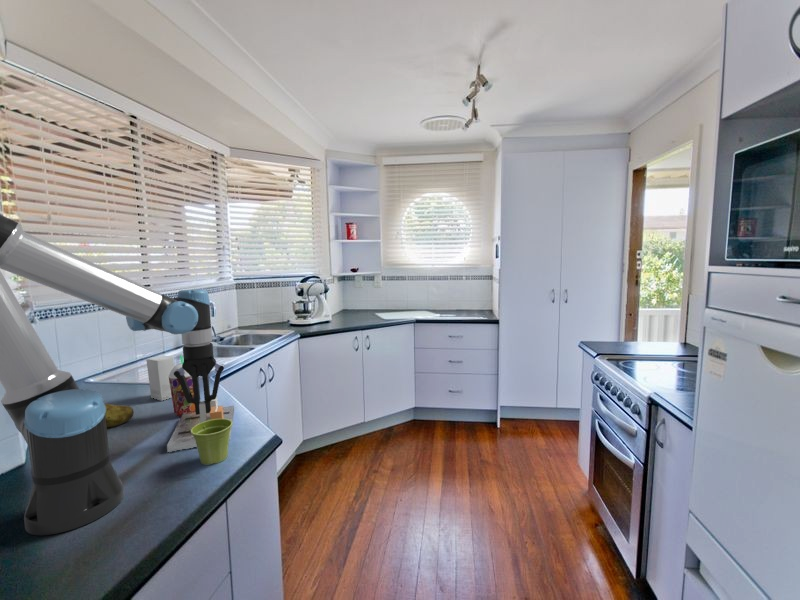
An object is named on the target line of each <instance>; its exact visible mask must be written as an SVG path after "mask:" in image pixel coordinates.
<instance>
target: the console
mask: <svg viewBox="0 0 800 600" xmlns="http://www.w3.org/2000/svg"><path fill="white" fill-rule="evenodd" d="M223 414H224V419H229V420H231V421H232V424H233V423H234V415H235V406H234V405H231V406H223ZM207 419H208V420H210V417H207ZM199 423H201V422H200V414H199V415H196V413H195V412H188V413H183V415H182V417H180V419H179V421H178V423H177V425H176V426H175V429H174V431H173V432H172V435H171V436H170V439H169V441H168V443H167V444H166V450H167V453H168V452H169V453H173V452H172V451H175V452H177V451H176V450H180V451H183V450H182V449H186V450H189V449H188V448H191V449H194V448H193V447H197V444H196V440H195V438H194V436H193V434H191V429H192V428H193V427H194V426H195V425H197V424H199ZM232 429H233V425H232V426H231V429H230V432H229V441H231V437H230V436H232Z"/></svg>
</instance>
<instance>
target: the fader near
mask: <svg viewBox="0 0 800 600" xmlns="http://www.w3.org/2000/svg"><path fill="white" fill-rule="evenodd" d="M223 407H224V405H218V406H217V407H212V408H211V411H210V420H213V419H224V414H223Z"/></svg>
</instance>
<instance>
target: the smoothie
mask: <svg viewBox="0 0 800 600" xmlns="http://www.w3.org/2000/svg"><path fill="white" fill-rule="evenodd" d="M183 362H184V358H183V354H181V355H180V363H177V364H176V365H175V367H174V368H173V369H172V370H171V372H170V375H169V376H168V377H169V383H170V389H171V395H172V398H171V400H172V401H171V402H172V406H173V407H172V408H173V413H175V415H176V417H179V418H181V417H182V415H183V413H188V412H195V404H194V403H187V400H186V398H185V395H184V393H183V390H182V388H181V385H180V382H179V380H178V379H177V378H176V377H175V375H174V372H175V371H176V370H177V369H180V368H181V367H182V364H183ZM184 372H185V374H184V376H185V378H186V381H187V383H188V386H189V389H190V391H191V394H192V396H193V397H194V392H193V381H192V376H190V375H189V374H188V373H187V372H186V371H185V370H184Z"/></svg>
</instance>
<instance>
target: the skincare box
mask: <svg viewBox="0 0 800 600" xmlns="http://www.w3.org/2000/svg"><path fill="white" fill-rule="evenodd" d="M175 366H176V365H175V357H174V356H170V355H158V356H155V357H154V356H153V357H150V358H146V367H147V374H148V382H149V383H148V384H149V389H150V398H151V399H153V398H154V400H156V399H157V401H159V402H163V400H164V401H167V400H170V399H172V395H171V389H170V383H169V377H168V376H169V375H170V372H171V370H172V369H173V368H174V367H175ZM169 398H170V399H169ZM166 399H167V400H166Z"/></svg>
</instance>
